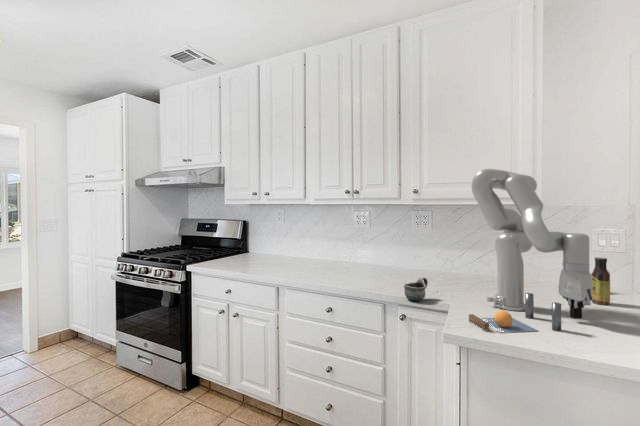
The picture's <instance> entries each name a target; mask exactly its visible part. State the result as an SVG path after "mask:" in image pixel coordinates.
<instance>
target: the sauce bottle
mask: <svg viewBox="0 0 640 426" xmlns="http://www.w3.org/2000/svg"><path fill="white" fill-rule="evenodd" d="M607 262H608V258H607V257H604V256H603V257H602V256H601V257H599V256H595V257H594V267H593V271H592V272H591V273H590V274H591V279H592V286H593V299H592V301H591V302H592V303H593V304H594V305H603V306H608V305H610V303H611V273H610V272H609V270H608V269H607Z"/></svg>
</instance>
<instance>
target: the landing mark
mask: <svg viewBox="0 0 640 426" xmlns="http://www.w3.org/2000/svg"><path fill="white" fill-rule="evenodd" d="M480 318H481V317H480ZM481 319H487V320H488V322H487V323H489V324H490V323H491V324H492V325H493V326H494V327H495V328H497V329H498V328H499V329H500V328H501V331H502V330H503V331H504V332H512V333H530V332H534V331H536V332H539V330H538V329H536V328H534V327H531V326H530V325H528V324H526V323H524V322H523V321H522V322H521V321H520V320H518V319H516V318H515V317H514V318H513V317H512V319H513V321H512V324H511V325H510V326H509V327H500V326H499V325H497V324H496V322H495V320H494V317H482V318H481ZM491 319H492V320H493V321H492V320H491ZM487 320H486V321H487ZM489 320H490V321H489ZM491 324H490V325H491ZM490 325H489V326H490ZM492 325H491V326H492ZM491 326H490V327H491ZM493 326H492V327H493ZM490 327H489V328H490ZM499 331H500V330H499Z"/></svg>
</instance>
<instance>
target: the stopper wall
mask: <svg viewBox="0 0 640 426" xmlns="http://www.w3.org/2000/svg"><path fill="white" fill-rule="evenodd" d="M480 318H481V317H478V316H476V315H475V314H473V313H472V314H471V313H469V314H468V322H469V321H471V322H472V324H473V323H474V324H475V325H474V324H473V325H474V326H476V325H477V326H478V328H479V327H480V328H482V329H483V330H482V329H481V330H482V331H484V330H489V331H490V327H489V323H487V322H485V321H483V320H482V319H480ZM471 322H470V323H471ZM477 326H476V327H477ZM480 328H479V329H480Z"/></svg>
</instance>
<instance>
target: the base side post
mask: <svg viewBox="0 0 640 426" xmlns="http://www.w3.org/2000/svg"><path fill="white" fill-rule="evenodd" d="M524 295H525V297H524V303H525V310H524V311H525V312H524V313H525V314H524V315H525V318H526V319H530V320H533V319H534V316H535V314H534V313H535V312H534V307H535V306H534V305H535V304H534V302H535V301H534V300H535V299H534V293H531V292H525V293H524Z"/></svg>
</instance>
